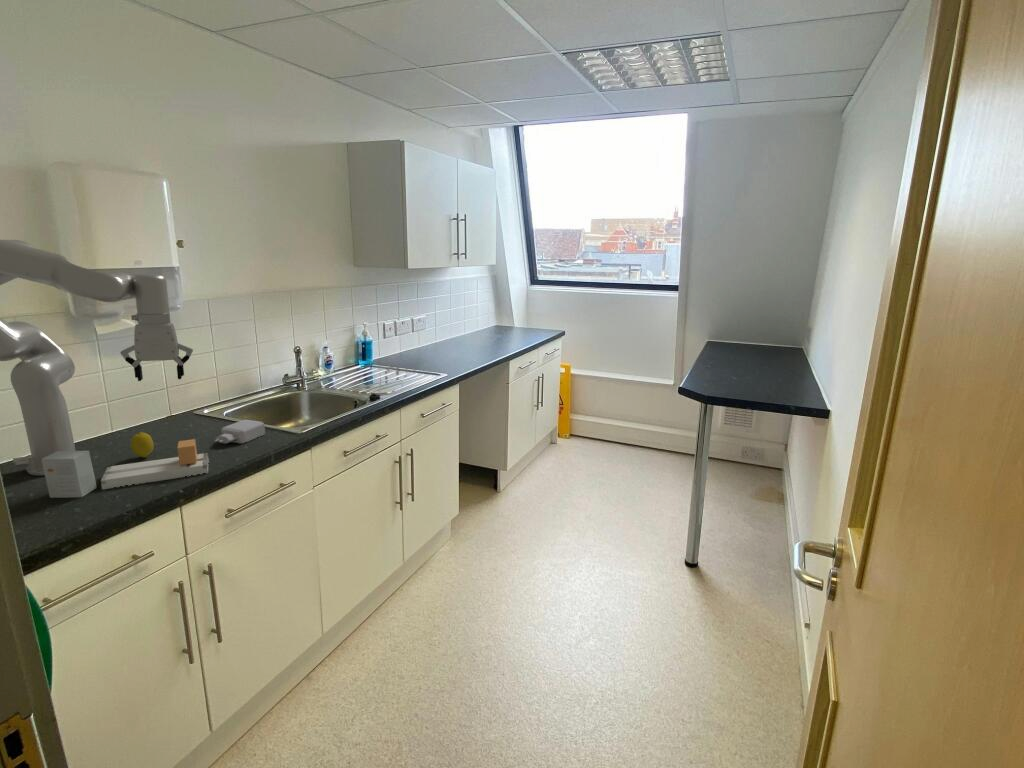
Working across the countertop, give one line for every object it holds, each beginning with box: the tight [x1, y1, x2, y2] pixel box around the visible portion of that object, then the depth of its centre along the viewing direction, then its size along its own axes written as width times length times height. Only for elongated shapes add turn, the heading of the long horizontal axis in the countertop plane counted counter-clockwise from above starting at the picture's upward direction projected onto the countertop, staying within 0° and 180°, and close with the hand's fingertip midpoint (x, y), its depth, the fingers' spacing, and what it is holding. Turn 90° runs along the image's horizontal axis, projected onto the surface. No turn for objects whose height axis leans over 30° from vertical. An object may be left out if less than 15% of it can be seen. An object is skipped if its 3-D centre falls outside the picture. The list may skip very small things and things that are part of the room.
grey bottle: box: [214, 419, 266, 444], centre depth 178 cm, size 5×9×15 cm
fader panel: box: [100, 452, 210, 490], centre depth 152 cm, size 24×10×3 cm, turn 117°
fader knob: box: [176, 438, 198, 465], centre depth 154 cm, size 4×6×6 cm, turn 27°
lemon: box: [130, 431, 155, 458], centre depth 162 cm, size 6×6×8 cm
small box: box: [41, 450, 98, 499], centre depth 139 cm, size 8×6×10 cm
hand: (160, 379), depth 158 cm, fingers open, 9 cm apart
